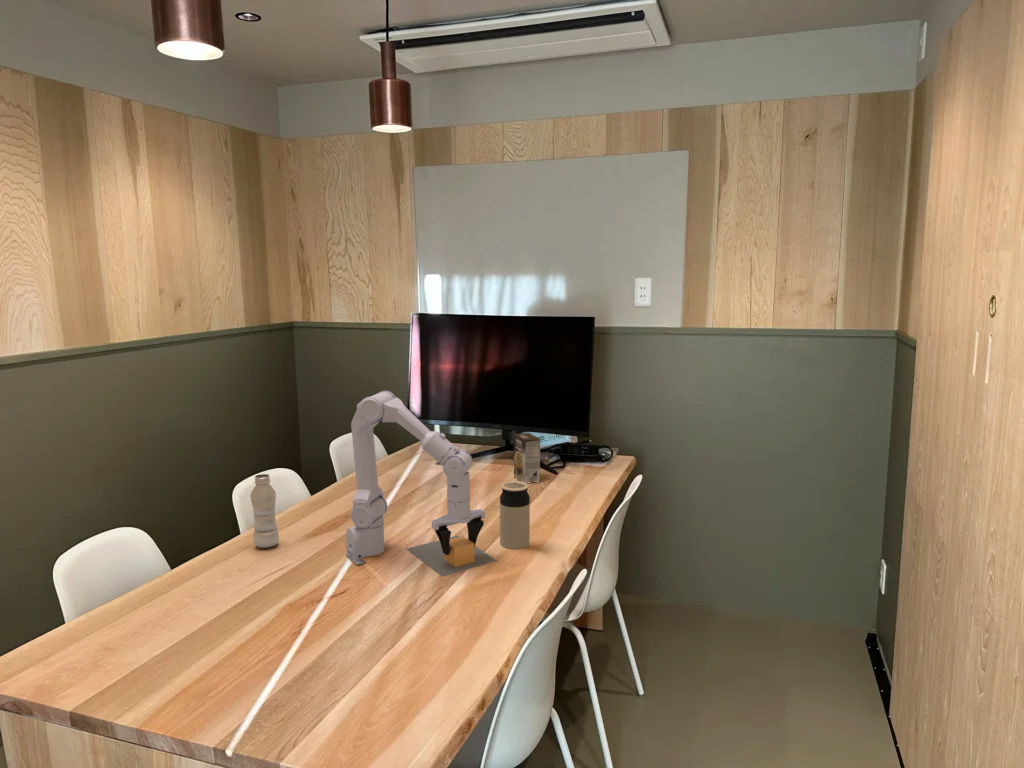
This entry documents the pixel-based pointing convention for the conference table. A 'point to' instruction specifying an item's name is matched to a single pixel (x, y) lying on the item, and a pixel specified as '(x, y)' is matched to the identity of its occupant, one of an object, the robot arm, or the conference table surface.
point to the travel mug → (514, 515)
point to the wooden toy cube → (460, 551)
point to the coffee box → (526, 457)
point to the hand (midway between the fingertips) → (459, 550)
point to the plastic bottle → (264, 512)
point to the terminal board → (436, 561)
